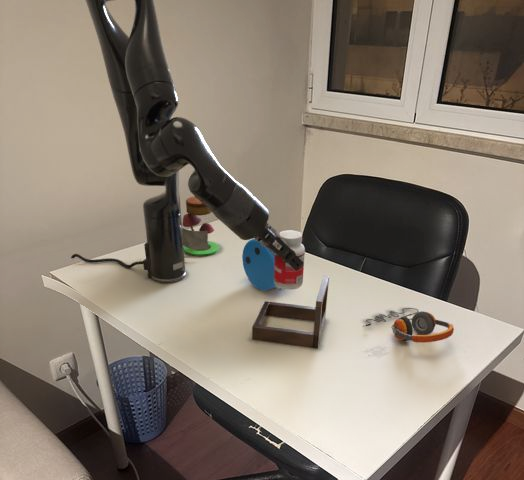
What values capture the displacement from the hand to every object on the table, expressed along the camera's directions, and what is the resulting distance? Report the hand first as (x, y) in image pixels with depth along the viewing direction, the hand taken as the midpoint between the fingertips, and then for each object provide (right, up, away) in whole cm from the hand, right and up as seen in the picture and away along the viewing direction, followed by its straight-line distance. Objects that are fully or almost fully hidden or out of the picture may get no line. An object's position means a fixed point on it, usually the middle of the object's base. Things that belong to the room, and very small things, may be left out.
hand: (292, 260), depth 104 cm
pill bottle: (-1, -5, +3) cm, 6 cm away
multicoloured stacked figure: (-25, +12, +48) cm, 56 cm away
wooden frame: (0, -14, +9) cm, 17 cm away
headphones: (+26, -15, +9) cm, 31 cm away
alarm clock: (-5, -2, +27) cm, 28 cm away
